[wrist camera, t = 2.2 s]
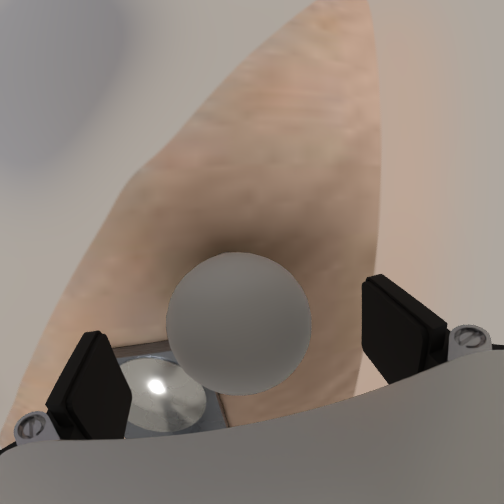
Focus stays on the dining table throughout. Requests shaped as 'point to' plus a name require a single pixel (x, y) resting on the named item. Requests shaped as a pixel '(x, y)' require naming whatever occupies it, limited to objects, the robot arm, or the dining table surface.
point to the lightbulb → (238, 323)
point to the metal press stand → (165, 394)
